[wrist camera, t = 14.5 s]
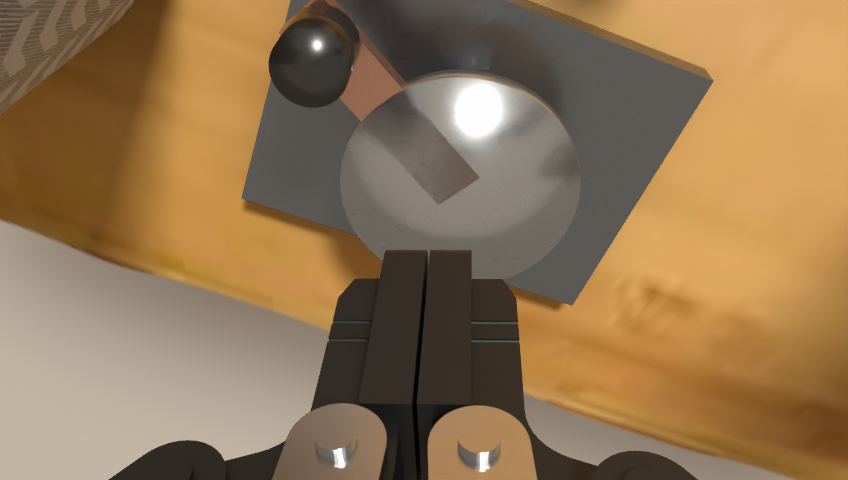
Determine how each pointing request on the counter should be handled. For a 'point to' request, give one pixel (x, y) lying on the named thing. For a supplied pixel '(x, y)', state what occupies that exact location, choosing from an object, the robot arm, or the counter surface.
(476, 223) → the handwheel
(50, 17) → the planter
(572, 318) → the counter surface
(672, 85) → the base
